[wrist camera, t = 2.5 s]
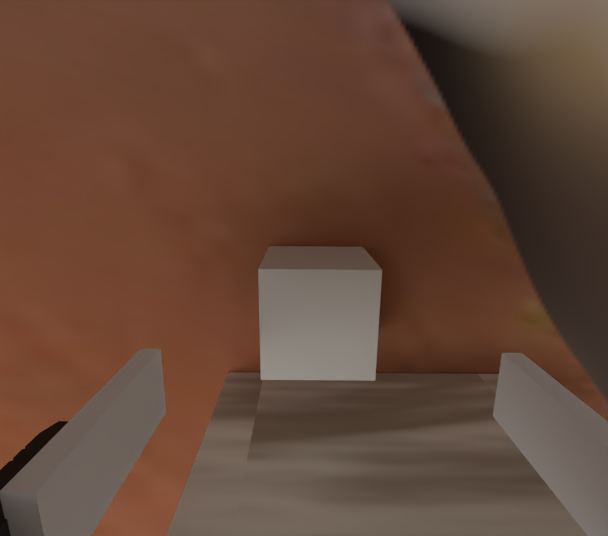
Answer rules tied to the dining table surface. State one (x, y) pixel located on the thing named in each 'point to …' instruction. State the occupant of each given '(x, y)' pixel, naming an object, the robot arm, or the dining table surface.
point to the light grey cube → (318, 313)
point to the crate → (364, 462)
